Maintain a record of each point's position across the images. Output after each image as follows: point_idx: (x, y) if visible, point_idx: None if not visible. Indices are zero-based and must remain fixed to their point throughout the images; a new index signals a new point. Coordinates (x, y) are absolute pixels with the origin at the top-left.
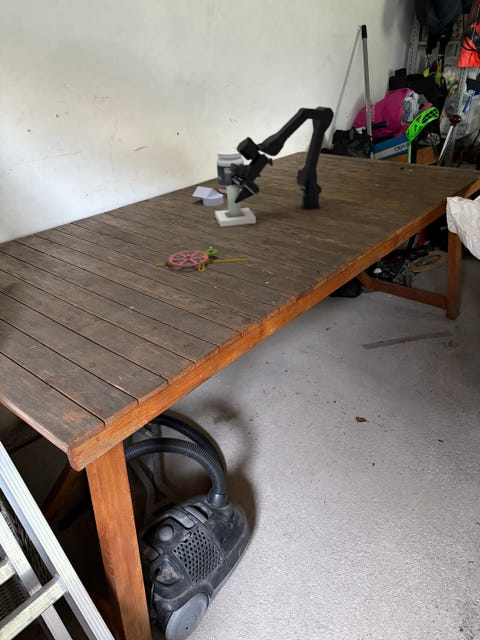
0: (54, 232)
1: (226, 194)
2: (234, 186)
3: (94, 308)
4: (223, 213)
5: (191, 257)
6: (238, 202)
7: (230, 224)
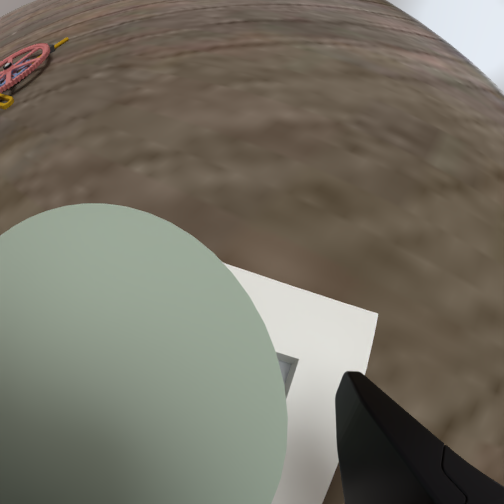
0: (395, 13)
1: (365, 386)
2: (50, 458)
3: (51, 11)
4: (282, 344)
5: (6, 74)
6: None
7: None
